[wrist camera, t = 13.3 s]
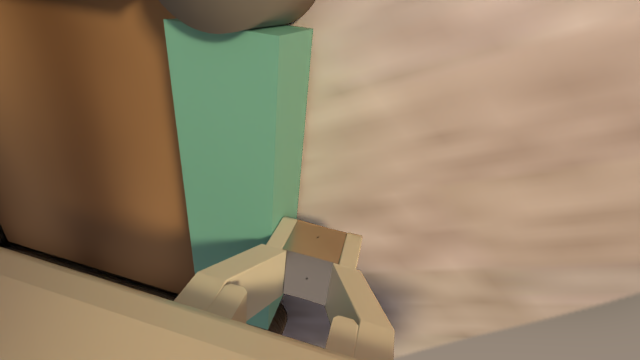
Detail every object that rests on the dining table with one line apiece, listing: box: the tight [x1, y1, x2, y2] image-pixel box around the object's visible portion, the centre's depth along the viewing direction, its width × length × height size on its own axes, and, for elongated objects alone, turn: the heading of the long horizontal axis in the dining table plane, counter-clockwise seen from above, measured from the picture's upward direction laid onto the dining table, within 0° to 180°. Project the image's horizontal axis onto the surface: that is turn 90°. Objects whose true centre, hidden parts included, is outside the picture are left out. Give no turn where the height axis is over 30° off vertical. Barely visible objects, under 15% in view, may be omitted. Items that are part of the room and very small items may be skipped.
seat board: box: [0, 0, 195, 294], centre depth 13 cm, size 11×12×2 cm
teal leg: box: [159, 0, 315, 330], centre depth 10 cm, size 13×3×3 cm, turn 174°
